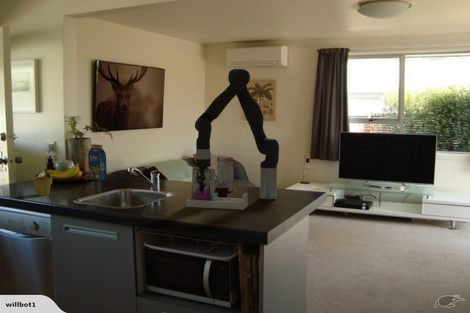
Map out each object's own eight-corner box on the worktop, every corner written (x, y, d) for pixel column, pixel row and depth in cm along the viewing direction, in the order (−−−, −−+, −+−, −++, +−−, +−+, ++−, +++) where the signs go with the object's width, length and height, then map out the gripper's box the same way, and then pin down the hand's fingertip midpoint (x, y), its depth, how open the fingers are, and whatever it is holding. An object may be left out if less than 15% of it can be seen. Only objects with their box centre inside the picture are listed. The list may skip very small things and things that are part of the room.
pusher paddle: (215, 202, 233) (215, 192, 232) (232, 202, 231) (232, 193, 230) (211, 204, 226) (211, 195, 226) (228, 205, 224) (228, 195, 224)
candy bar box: (190, 198, 231) (191, 167, 230) (196, 197, 236) (196, 166, 234) (209, 201, 226) (210, 169, 225) (214, 200, 231) (215, 168, 229)
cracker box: (233, 191, 269) (233, 157, 267) (224, 192, 267) (224, 157, 265) (225, 188, 282) (225, 155, 280) (216, 188, 280) (216, 155, 278)
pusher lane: (192, 202, 238) (192, 189, 237) (247, 205, 230) (247, 192, 230) (186, 206, 228) (186, 193, 228) (243, 209, 221) (243, 195, 221)
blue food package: (96, 178, 324) (94, 143, 321) (107, 179, 317) (105, 144, 314) (88, 179, 319) (87, 144, 316) (99, 180, 312) (98, 145, 309)
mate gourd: (231, 198, 250) (231, 171, 248) (222, 200, 243) (222, 173, 242) (220, 196, 254) (220, 170, 252) (211, 199, 247) (211, 172, 246)
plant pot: (56, 193, 264) (55, 177, 263) (42, 196, 255) (41, 179, 254) (43, 192, 269) (43, 176, 268) (29, 195, 259) (28, 178, 258)
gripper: (205, 159, 221) (206, 193, 223) (214, 156, 235) (214, 188, 236) (191, 159, 223) (192, 192, 224) (200, 156, 237) (201, 187, 238)
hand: (203, 190), depth 230 cm, fingers closed on candy bar box, 5 cm apart
